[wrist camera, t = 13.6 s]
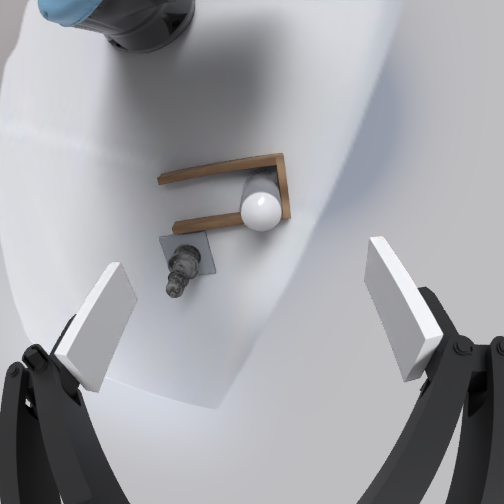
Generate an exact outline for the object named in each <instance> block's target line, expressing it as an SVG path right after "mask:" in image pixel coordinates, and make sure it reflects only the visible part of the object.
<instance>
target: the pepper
mask: <svg viewBox="0 0 504 504" xmlns="http://www.w3.org/2000/svg"><path fill="white" fill-rule="evenodd" d="M240 212H241V217H242V220H243V222H244V223H245V225H246V226H247V227H249V228H250V229H252V230H255V231H268V230H270V229H272V228H274V227H275V226H276V225H277V224H278V223H279V221H280V219H281V213H282V204H281V198H280V193H279V188H278V183H277V180H276V178H275V177H274V176H273V175H272V174H271V173H269V172H267V171H262V170H260V171H255V172H252V173H251V174H249V175H248V176H247V178H246V179H245V182H244V187H243V193H242V199H241V205H240Z"/></svg>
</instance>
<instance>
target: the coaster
mask: <svg viewBox="0 0 504 504" xmlns="http://www.w3.org/2000/svg"><path fill="white" fill-rule="evenodd" d="M159 241H160V243H161V246H162V249H163V252H164V255H165V258H166V260H167V263H168V260H169V258H170V257H171V256H172V255H173V254H174V251H175V249H176V248H177V247H178V246H179V245H182V244H190V245H193V246H194V247H196V248H197V249H198V250H199V252H200V254H201V261H200V263H199V272H198V275H202V274H211V273H216V269H215V265H214V262H213V258H212V254H211V251H210V247H209V243H208V240H207V236H206V232H205V230H204V231H197V232H190V233H183V234H177V235H170V236H164V237H160V238H159Z"/></svg>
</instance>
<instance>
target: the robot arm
mask: <svg viewBox="0 0 504 504" xmlns="http://www.w3.org/2000/svg"><path fill="white" fill-rule="evenodd" d="M38 7H39V10H40V13H41V14H42V16H43V17H44V18H45V19H47V20H49V21H51V22H55V23H58V24H60V25H61V26H64V27H75V28H80V29H85V30H90V31H94V32H99V33H103V34H104V36H105V37H106V38H107V40H108V41H109V42H110V43H111V44H112V45H113V46H115V47H116V48H118V49H121V50H124V51H128V52H132V53H146V52H151V51H154V50H157V49H160V48H162V47H164V46H166V45H168V44H169V43H171V42H172V41H174V40H175V39H176V38H177V37H178V36H179V35H180V34H181V33H182V32H183V31H184V30H185V29H186V27H187V26H188V24H189V23H190V21H191V19H192V16H193V13H194V9H195V0H38ZM364 282H365V284H366V286H367V288H368V291H369V293H370V295H371V297H372V300H373V302H374V305H375V307H376V309H377V312H378V314H379V317H380V319H381V321H382V324H383V326H384V329H385V331H386V334H387V337H388V339H389V342H390V344H391V347H392V350H393V352H394V355H395V358H396V361H397V363H398V366H399V369H400V371H401V375H402V378H403V381H404V382H407V381H411V380H415V379H418V378H420V377H421V376H422V374H423V372H424V370H425V371H426V374H427V377H428V378H427V379H426V381H425V383H424V384H423V386H422V388H421V389H420V391H421V393H420V396H419V398H418V400H417V402H416V405H415V407H414V409H413V411H412V413H411V415H410V417H409V419H408V421H407V423H406V426H405V427H404V429H403V431H402V433H401V435H400V437H399V439H398V440H397V442H396V444H395V446H394V448H393V449H392V451H391V453H390V455H389V456H388V458H387V460H386V461H385V463H384V465H383V466H382V468H381V469H380V471H379V473H378V474H377V475H376V477H375V478H374V480H373V481H372V483H371V484H370V486H369V487H368V489H367V490H366V491H365V493H364V494H363V496H362V497H361V498H360V500H359V501H358V502H357V504H419V503H420V502H421V500H422V498H423V496H424V495H425V493H426V491H427V489H428V488H429V486H430V484H431V482H432V480H433V478H434V476H435V474H436V472H437V470H438V468H439V466H440V464H441V461H442V459H443V457H444V455H445V452H446V450H447V448H448V445H449V443H450V440H451V438H452V435H453V432H454V430H455V427H456V424H457V422H458V419H459V416H460V413H461V409H462V406H463V416H462V426H461V434H460V441H459V447H458V453H457V459H456V464H455V469H454V474H453V478H452V482H451V486H450V490H449V493H448V497H447V500H446V504H504V337H503V336H497V337H495V338H494V339H493V340H492V342H491V344H490V345H475V344H474V343H473V342H472V341H471V340H470V339H469V338H467V337H465V336H462V335H459V334H458V332H457V330H456V328H455V327H454V325H453V323H452V321H451V320H450V318H449V316H448V315H447V313H446V311H445V310H444V308H443V307H442V305H441V303H440V301H439V300H438V298H437V297H436V295H435V294H434V293H433V292H432V291H431V290H430V289H428V288H427V287H421V288H417V287H416V286H415V284H414V282H413V281H412V279H411V278H410V276H409V275H408V273H407V272H406V270H405V268H404V267H403V266H402V264H401V262H400V261H399V259H398V258H397V256H396V255H395V253H394V252H393V250H392V249H391V247H390V246H389V245H388V243H387V242H386V240H385V239H384V237H383V236H380V237H370V238H369V244H368V254H367V263H366V271H365V278H364ZM137 300H138V299H137V297H136V295H135V293H134V291H133V288H132V286H131V284H130V282H129V280H128V277H127V275H126V273H125V270H124V268H123V266H122V263H121V262H114V263H110V264H109V265H108V267H107V268H106V269H105V271H104V272H103V274H102V275H101V277H100V278H99V280H98V281H97V283H96V284H95V286H94V287H93V289H92V290H91V292H90V294H89V295H88V297H87V298H86V300H85V301H84V303H83V305H82V306H81V308H80V310H79V311H78V313H77V314H75V315H74V316H73V317H72V318H71V319H70V320H69V321H68V323H67V325H66V326H65V329H64V330H63V331H62V333H61V336H60V337H59V338H58V340H57V342H56V344H55V345H54V347H53V349H52V351H51V353H50V355H48V354H47V353H46V352H45V350H44V349H43V348H42V347H41V346H40V345H39V344H34V345H31V346H30V347H28V348H27V349H26V351H25V352H24V354H23V357H22V361H23V362H24V363H25V364H26V366H27V367H28V368H25V367H24V366H23V364H22V363H20V362H15V363H13V364H11V365H10V366H9V369H8V370H7V373H6V377H5V383H4V389H3V395H2V403H1V412H0V500H1V504H61V499H60V495H61V498H62V501H63V503H64V504H130V503H129V501H128V499H127V498H126V496H125V494H124V493H123V491H122V489H121V487H120V485H119V483H118V481H117V479H116V477H115V476H114V473H113V471H112V469H111V467H110V465H109V463H108V461H107V459H106V457H105V455H104V452H103V450H102V448H101V445H100V443H99V441H98V438H97V436H96V433H95V431H94V428H93V426H92V423H91V420H90V417H89V414H88V412H87V409H86V406H85V403H84V400H83V397H82V393H81V392H80V390H79V389H78V387H79V384H81V385H82V386H83V387H84V388H85V389H86V390H88V391H92V392H99V390H100V387H101V384H102V382H103V379H104V377H105V374H106V371H107V369H108V366H109V364H110V361H111V359H112V357H113V354H114V352H115V349H116V347H117V345H118V342H119V340H120V338H121V335H122V333H123V331H124V328H125V326H126V324H127V322H128V319H129V317H130V315H131V313H132V311H133V309H134V306H135V304H136V302H137ZM26 399H27V400H28V401H29V402H30V407H29V406H27V405H26V404H25V402H26ZM463 403H464V404H463ZM59 493H60V494H59Z"/></svg>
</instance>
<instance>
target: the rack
mask: <svg viewBox="0 0 504 504" xmlns="http://www.w3.org/2000/svg"><path fill="white" fill-rule="evenodd" d="M271 165H276V166H277V173H278V181H279V188H280V196H281V204H282V213H281V219H288V218H291V213H290V204H289V195H288V187H287V179H286V171H285V163H284V156H283V153H278V154H270V155H263V156H256V157H249V158H242V159H236V160H230V161H224V162H218V163H213V164H207V165H202V166H197V167H192V168H187V169H182V170H177V171H173V172H168V173H164V174H161V175H160V176H159V177H158V178H157V180H158V184H159V185H162V184H166V183H171V182H176V181H181V180H186V179H191V178H196V177H201V176H207V175H212V174H218V173H224V172H230V171H236V170H243V169H249V168H256V167H263V166H271ZM242 224H245V223H244V222H243V220H242V217H241V212H237V213H230V214H223V215H217V216H210V217H203V218H197V219H191V220H185V221H179V222H175V224H174V225H173V227H172V231H173V234H180V233H186V232H193V231H200V230H206V229H213V228H220V227H227V226H235V225H242Z"/></svg>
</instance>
